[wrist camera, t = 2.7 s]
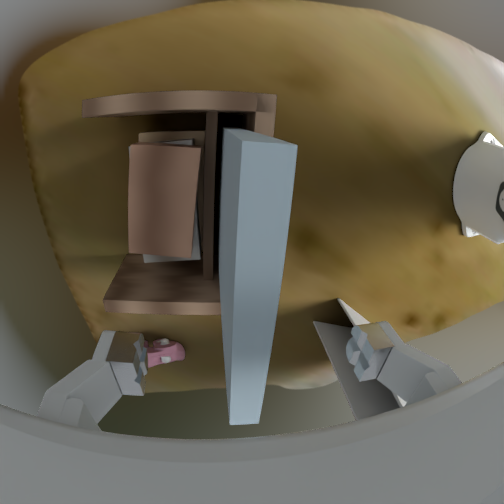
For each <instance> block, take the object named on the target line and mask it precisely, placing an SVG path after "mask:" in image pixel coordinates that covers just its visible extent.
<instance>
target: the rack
mask: <svg viewBox="0 0 504 504" xmlns="http://www.w3.org/2000/svg"><path fill="white" fill-rule="evenodd" d="M276 101H277V95H273V94H263V93H251V92H235V91H160V92H144V93H132V94H122V95H114V96H106V97H99V98H92V99H86V100H82V118H88V117H123V116H135V115H150V114H175V113H207V115H206V135H205V159H204V198H203V255H201V259H200V260H184V261H168V262H151V263H144V258H143V255H142V254H127V255H126V257H125V259H124V260H123V262H122V264H121V266H120V268H119V269H118V271H117V273H116V275H115V277H114V279H113V281H112V283H111V284H110V286H109V288H108V290H107V292H106V294H105V296H104V298H103V303H104V307H105V311H106V312H118V313H138V314H169V315H221V302H220V283H219V262H218V255H213V227H214V188H215V161H216V140H217V121H218V114H241V115H243V127H242V129H245V130H249V131H252V132H256V133H259V134H263V135H266V136H270V137H273V138H274V126H275V114H276Z"/></svg>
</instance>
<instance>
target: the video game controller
mask: <svg viewBox="0 0 504 504" xmlns="http://www.w3.org/2000/svg"><path fill="white" fill-rule="evenodd" d="M143 347H144V348H146V349H147V354H148V368H149V367H153V366H155V365H158V364H164V363H169V362H173V361H175V360H180V361H182V360H184V358H185V350H184V348H183V346H182V345H181V344H180V343H178V342H176V341H169V340H168V339H166V338H164V339H157V340H155V341H153V347H149V346H148V341H146V340H145V341H144V346H143Z"/></svg>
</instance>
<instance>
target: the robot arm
mask: <svg viewBox="0 0 504 504" xmlns="http://www.w3.org/2000/svg"><path fill="white" fill-rule="evenodd" d="M453 200H454V206H455V209H456V212H457V214H458V216H459V218H460V220H461V222H462V231H463V234H464V235H465V236H467V237H472V236H476V235H482V236H484V237H486V238H487V239H489V240H491V241H493V242H495V243H497V244H500V243H504V147H503V146H502V145H501V144H500V143H499V142H498V141H497V140H496V139H495V138H494V137H493V136H492V135H491V134H490V133H488V132H485V131H484V132H483V133H482V134H481V136H480V138H479V139H478V141H477V142H476V143H475V144H473V145H472V146H470V147H469V148H468V149H467V150H466V151H465V153H464V154H463V156H462V157H461V159H460V161H459V164H458V166H457V170H456V173H455V178H454V185H453ZM351 334H352V336H353V337H352V338H351V339H350V340H349V341H348V343H347V346H346V355H347V359H348V361H349V363H351V364H353V365H354V366H355V367H354V372H355V374H356V376H357V378H358V380H359V382H361V381H366V380H371V379H376V378H377V380H378V381H379V382H381V383H382V384H383V385H385V386H386V387H387V388H389V389H390V390H391V391H393V392H394V393H395V394H396V395H398V396H399V397H400V398H402V399H403V400H404V401H406V402H407V403H406V405H405V406H404V407H401V408H398V409H395V410H391V411H388V412H385V413H381V414H378V415H375V416H371V417H367V418H364V419H360V420H356V421H352V422H348V423H343V424H339V425H334V426H330V427H324V428H319V429H314V430H308V431H302V432H296V433H288V434H280V435H272V436H263V437H251V438H235V439H205V440H204V439H203V440H202V439H167V438H152V437H141V436H131V435H122V434H116V433H109V432H103V431H101V430H100V428H99V427H98V425H97V423H98V422H99V421H100V420H101V419H102V418H103V417H104V415H105V414H106V413H107V412H108V411H109V410H110V409H111V408H112V407H113V405H114V404H115V403H116V402H117V401H118V400H119V399H120V398H121V396H122V394H123V395H139V396H140V395H141V396H143V395H144V390H145V384H146V381H145V378H144V376H145V375H146V374H147V371H148V354H147V349H146V348H144V347H143V346H144V341H145V340H144V336H143V334H142V333H137V332H124V331H110V330H104V331H103V332H102V334H101V337H100V339H99V342H98V344H97V347H96V350H95V352H94V355H93V358H92V360H87V361H86V362H84V363H83V364H82V365H80V366H79V367H78V368H76V369H75V370H74V371H72V372H71V373H70V374H68V375H67V376H66V377H64V378H63V379H62V380H60V381H59V382H58V383H56V384H55V385H53V386H52V387H51V388H49V389H48V390H47V391H46V393H45V395H44V398H43V400H42V403H41V406H40V408H39V411H38V414H37V416H34V415H31V414H27V413H24V412H21V411H18V410H15V409H12V408H10V407H7V406H4V405H1V404H0V504H504V362H502V363H501V364H499V365H497V366H495V367H493V368H491V369H490V370H488V371H486V372H484V373H482V374H481V375H478V376H476V377H474V378H472V379H470V380H468V381H466V382H464V383H462V382H461V381H460V379H459V378H458V377H457V375H456V374H455V373H454V371H453V370H452V369H451V367H450V366H449V365H447V364H445V363H443V362H441V361H440V360H437V359H436V358H434V357H432V356H430V355H428V354H426V353H424V352H422V351H420V350H418V349H416V348H414V347H412V346H411V345H409V344H406V345H405V344H404V342H403V341H402V340H401V338H400V337H399V336H398V334H397V333H396V332H395V330H394V329H393V328H392V327H391V325H390V324H389V323H388V322H387V321H382V322H376V323H369V324H361V325H355V326H354V327H353V328H352V331H351Z"/></svg>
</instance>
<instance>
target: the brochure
mask: <svg viewBox="0 0 504 504" xmlns="http://www.w3.org/2000/svg"><path fill="white" fill-rule="evenodd" d="M337 300H338V301H339V303H340V305H341V306H342V308H343V309H344V311H345V313H346V314H347V316H348V318H349V319H350V321H351V322H352V324H353V326H355V325H361V324H369V322H368V321H367V320H366V319H364V318H363V317H362V316H361V315H359V314H358V313H357V312H356V311H354V310H353V309H352V308H351V307H349V306H348V305H347V304H346V303H344V302H343V301H342V300H341V299H339V298H338V299H337ZM313 324H314V326H315V328H316V330H317V333H318V335H319V337H320V339H321V342H322V344H323V346H324V348H325V351H326V353H327V355H328V357H329V360H330V362H331V364H332V366H333V369H334V371H335V373H336V375H337V378H338V380H339V382H340V385H341V387H342V389H343V392H344V394H345V396H346V398H347V401H348V403H349V406H350V408H351V410H352V413H353V415H354V417H355V420H360V419H364V418H367V417H371V416H375V415H378V414H381V413H385V412H388V411H391V410H395V409H398V408H401V407H404V406H405V405H406V403H407V402H406V401H404V400H403V399H402V398H400V397H399V396H398V395H396V394H395V393H394V392H393V391H391V390H390V389H389V388H387V387H386V386H385V385H383V384H382V383H381V382H379V381H378V380H377V378H376V379H371V380H366V381H361V382H359V380H358V378H357V376H356V374H355V372H354V367H355V366H354V365H353V364H351V363H349V361H348V359H347V355H346V346H347V343H348V341H349V340H350V339H351V338H352V337H353V336H352V334H351V331H352V328H350V327H344V326H339V325H333V324H328V323H322V322H317V321H313Z"/></svg>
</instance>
